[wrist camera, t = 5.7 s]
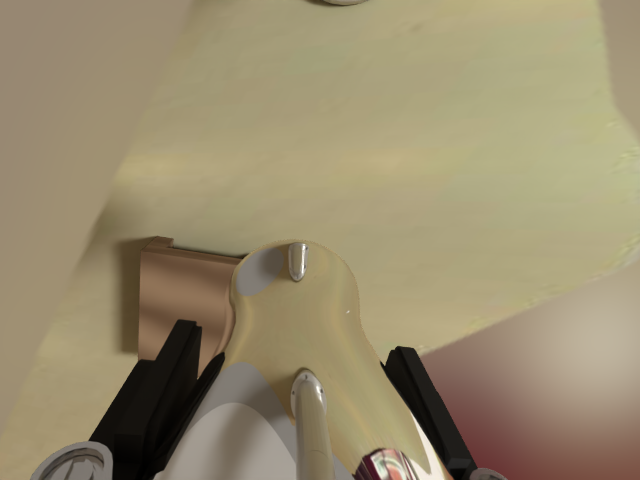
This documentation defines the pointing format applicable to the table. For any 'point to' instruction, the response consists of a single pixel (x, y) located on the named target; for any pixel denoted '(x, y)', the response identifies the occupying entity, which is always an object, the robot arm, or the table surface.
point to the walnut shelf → (181, 296)
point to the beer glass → (295, 385)
